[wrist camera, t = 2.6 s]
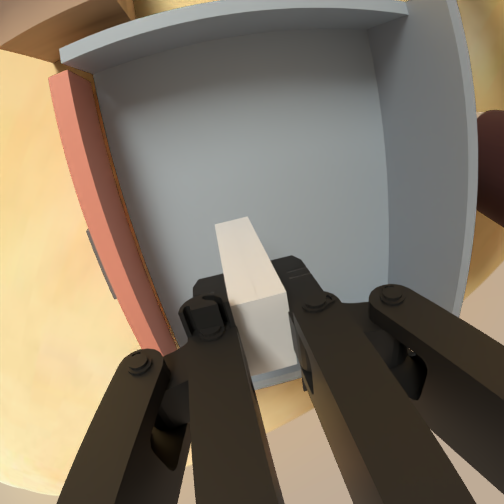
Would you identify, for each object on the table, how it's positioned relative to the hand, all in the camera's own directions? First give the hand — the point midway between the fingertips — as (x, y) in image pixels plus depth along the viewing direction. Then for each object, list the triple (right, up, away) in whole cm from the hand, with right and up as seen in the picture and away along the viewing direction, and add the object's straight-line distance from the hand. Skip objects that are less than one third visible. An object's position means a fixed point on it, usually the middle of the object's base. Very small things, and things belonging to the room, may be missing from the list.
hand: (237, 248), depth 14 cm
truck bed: (+2, +4, +6) cm, 7 cm away
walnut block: (-10, +15, -1) cm, 18 cm away
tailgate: (-7, +1, +5) cm, 9 cm away
